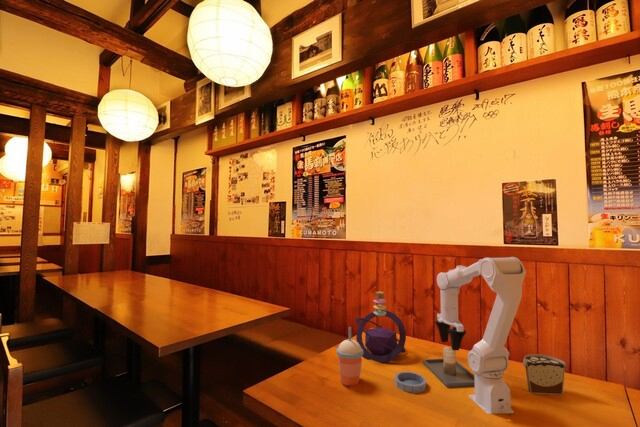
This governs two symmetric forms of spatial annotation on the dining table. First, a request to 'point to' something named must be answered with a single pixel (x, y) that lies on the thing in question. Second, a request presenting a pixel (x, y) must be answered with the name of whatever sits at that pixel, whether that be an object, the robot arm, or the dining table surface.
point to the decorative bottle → (381, 335)
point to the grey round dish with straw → (349, 361)
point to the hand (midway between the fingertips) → (449, 345)
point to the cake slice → (544, 374)
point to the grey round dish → (410, 382)
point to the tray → (458, 380)
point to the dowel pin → (449, 361)
